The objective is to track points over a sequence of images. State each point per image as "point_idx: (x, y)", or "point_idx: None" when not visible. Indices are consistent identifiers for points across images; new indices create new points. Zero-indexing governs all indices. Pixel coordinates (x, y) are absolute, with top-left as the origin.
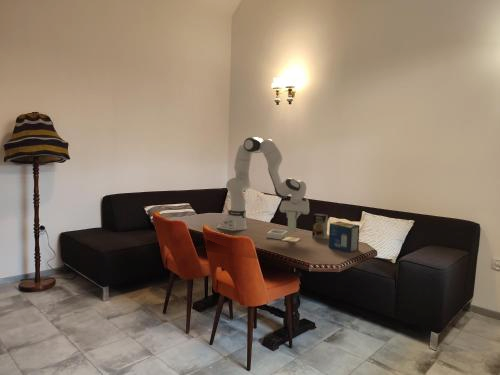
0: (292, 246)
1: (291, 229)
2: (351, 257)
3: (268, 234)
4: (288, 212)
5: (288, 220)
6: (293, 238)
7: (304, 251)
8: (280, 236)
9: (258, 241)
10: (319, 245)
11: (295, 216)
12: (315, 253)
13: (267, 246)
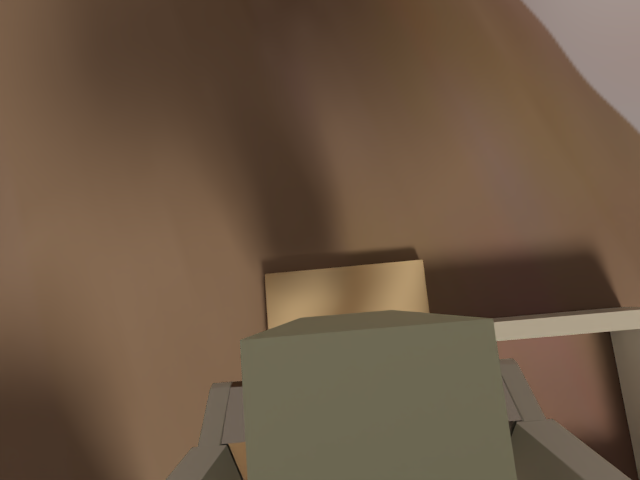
0: (250, 131)
1: (338, 315)
2: None
3: (630, 308)
4: (476, 317)
5: (412, 313)
6: None
7: (112, 46)
8: None
9: (598, 111)
10: (41, 310)
11: None
12: (20, 44)
13: (436, 8)
